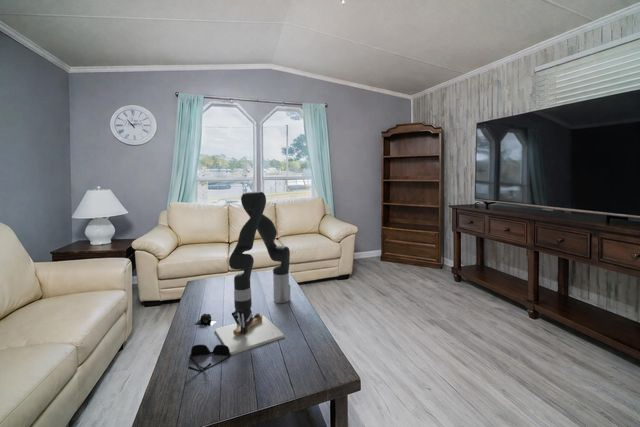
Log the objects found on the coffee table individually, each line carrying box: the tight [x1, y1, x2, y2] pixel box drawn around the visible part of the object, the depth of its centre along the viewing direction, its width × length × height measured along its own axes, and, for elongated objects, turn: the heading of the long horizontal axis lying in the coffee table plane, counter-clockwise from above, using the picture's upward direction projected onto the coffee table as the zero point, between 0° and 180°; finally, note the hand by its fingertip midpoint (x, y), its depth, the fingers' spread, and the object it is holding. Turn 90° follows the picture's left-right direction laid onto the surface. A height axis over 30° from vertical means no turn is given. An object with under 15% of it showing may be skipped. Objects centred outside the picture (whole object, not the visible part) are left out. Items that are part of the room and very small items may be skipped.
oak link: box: [233, 312, 263, 336], centre depth 144 cm, size 18×4×3 cm, turn 154°
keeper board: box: [214, 315, 285, 356], centre depth 140 cm, size 25×24×6 cm
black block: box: [194, 313, 217, 327], centre depth 152 cm, size 12×7×5 cm, turn 82°
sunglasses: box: [188, 344, 232, 373], centre depth 118 cm, size 17×14×5 cm
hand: (244, 333), depth 137 cm, fingers closed
